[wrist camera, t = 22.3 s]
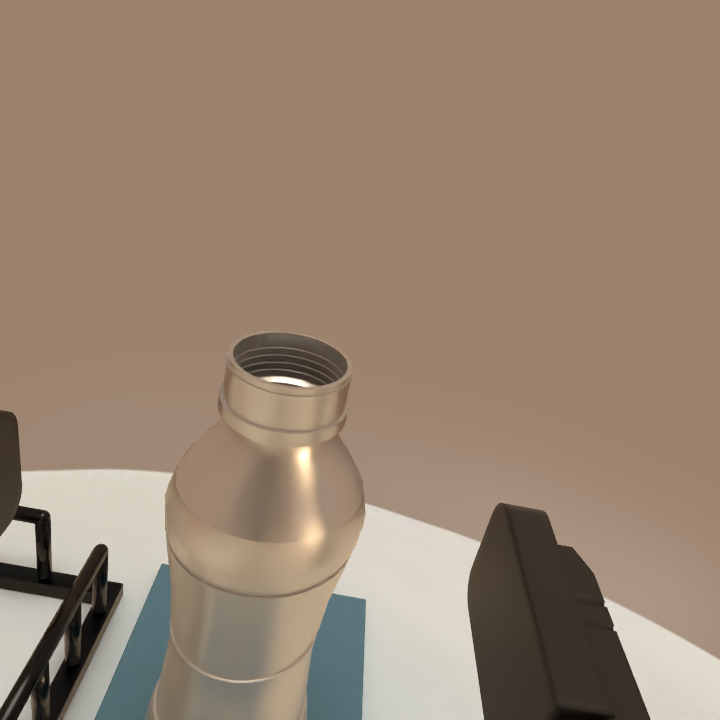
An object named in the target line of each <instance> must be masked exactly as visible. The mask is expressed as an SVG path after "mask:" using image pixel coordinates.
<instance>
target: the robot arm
mask: <svg viewBox="0 0 720 720" xmlns="http://www.w3.org/2000/svg"><path fill="white" fill-rule="evenodd" d="M21 493H22V479H21V465H20V451H19V437H18V424H17V419H16V417H15V415H14V414H13V413H12V412H8V411H2V410H0V536H1V535H2V533H3V532H4V531H5V530H6V528H7V527H8V526H9V524H10V523H11V521H12V519H13V518H14V516H15V514H16V511H17V509H18V506H19V502H20V498H21ZM604 602H605V601H604V599H603V596H602V594H601V591H600V589H599V586H598V583H597V581H596V578H595V576H594V573H593V572H592V571H591V570H590V568H589V567H588V566H587V565H586V563H585V562H584V561H583V560H582V559H581V557H580V556H579V555H578V554H577V553H576V551H575V550H574V549H573V548H572V547H568V546H562V545H558V544H557V541H556V538H555V535H554V533H553V529H552V526H551V524H550V521H549V518H548V516H547V514H546V512H544V511H542V510H537V509H532V508H526V507H521V506H515V505H510V504H503V503H499V504H498V505H497V506H496V508H495V510H494V511H493V514H492V516H491V519H490V521H489V524H488V527H487V529H486V532H485V535H484V537H483V540H482V542H481V545H480V547H479V550H478V553H477V555H476V558H475V560H474V563H473V566H472V569H471V572H470V577H469V583H468V610H469V617H470V624H471V630H472V637H473V644H474V651H475V658H476V665H477V672H478V679H479V686H480V693H481V700H482V707H483V714H484V720H650V717H649V714H648V712H647V709H646V707H645V704H644V702H643V699H642V696H641V694H640V691H639V689H638V686H637V684H636V681H635V678H634V676H633V673H632V671H631V668H630V666H629V663H628V660H627V658H626V655H625V653H624V650H623V648H622V645H621V642H620V640H619V637H618V635H617V632H616V631H614V630H613V626H614V624H613V622H612V619H611V617H610V614H609V612H608V609H607V607H604Z"/></svg>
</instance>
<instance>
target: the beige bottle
mask: <svg viewBox="0 0 720 720" xmlns="http://www.w3.org/2000/svg"><path fill="white" fill-rule="evenodd" d="M351 377H352V364H351V362H350V360H349V358H348V357H347V356H346V355H345V353H344V352H342V351H341V350H340V349H338V348H337V347H336V346H334V345H332V344H330V343H328V342H326V341H323V340H321V339H318V338H316V337H312V336H309V335H305V334H300V333H294V332H286V331H264V332H257V333H252V334H248V335H245V336H243V337H240V338H238V339H237V340H236V341H235V342H233V343H232V345H231V346H230V347H229V351H228V353H227V357H226V364H225V375H224V383H223V384H222V385H221V387H220V391H219V399H218V409H219V413H220V415H221V417H222V418H221V419H220V420H219V421H218V422H216V423H215V424H214V425H213V426H212V427H210V428H209V429H208V430H207V431H206V432H205V433H204V434H203V435H202V436H201V437H200V438H199V439H198V440H197V441H196V442H195V443H194V444H193V445H192V446H191V447H190V448H189V450H187V451H186V453H185V454H184V456H183V458H182V459H181V461H180V462H179V464H178V466H177V468H176V470H175V472H174V474H173V476H172V478H171V480H170V482H169V485H168V488H167V491H166V494H165V531H166V540H167V550H168V560H169V570H170V580H171V617H170V637H169V641H168V646H167V650H166V654H165V658H164V663H163V667H162V671H161V675H160V678H159V680H158V682H157V684H156V686H155V688H154V691H153V693H152V695H151V699H150V702H149V705H148V708H147V712H146V715H145V719H144V720H307V682H308V674H309V667H310V660H311V653H312V648H313V645H314V642H315V640H316V636H317V632H318V630H319V628H320V625H321V622H322V619H323V616H324V613H325V610H326V607H327V604H328V601H329V599H330V597H331V595H332V593H333V591H334V589H335V587H336V584H337V582H338V580H339V578H340V576H341V574H342V572H343V570H344V568H345V566H346V564H347V562H348V560H349V557H350V555H351V553H352V551H353V549H354V547H355V545H356V543H357V540H358V537H359V534H360V532H361V529H362V527H363V522H364V517H365V504H364V492H363V483H362V478H361V476H360V473H359V471H358V468H357V466H356V464H355V462H354V460H353V458H352V456H351V454H350V452H349V450H348V448H347V447H346V445H345V444H344V442H343V441H342V439H341V438H340V436H339V435H338V433H339V432H340V431H341V430H342V428H343V427H344V424H345V421H346V417H347V412H348V401H347V396H348V391H349V387H350V382H351Z"/></svg>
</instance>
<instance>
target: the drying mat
mask: <svg viewBox="0 0 720 720" xmlns="http://www.w3.org/2000/svg"><path fill="white" fill-rule="evenodd" d="M365 607H366V600H365V599H359V598H354V597H348V596H342V595H337V594H332V595H331V597H330V599H329V601H328V604H327V607H326V610H325V613H324V616H323V619H322V622H321V625H320V628H319V630H318V632H317V636H316V640H315V642H314V645H313V648H312V653H311V660H310V667H309V674H308V682H307V720H362V695H363V665H364V636H365ZM170 617H171V580H170V570H169V565H166V564H162V565H161V567H160V569H159V572H158V574H157V576H156V579H155V581H154V583H153V586H152V588H151V590H150V592H149V595H148V597H147V599H146V602H145V604H144V606H143V609H142V611H141V613H140V616H139V618H138V620H137V623H136V625H135V627H134V630H133V632H132V634H131V637H130V639H129V641H128V643H127V646H126V648H125V650H124V653H123V655H122V657H121V660H120V662H119V664H118V667H117V669H116V671H115V674H114V676H113V678H112V681H111V683H110V685H109V688H108V690H107V692H106V694H105V697H104V699H103V701H102V704H101V706H100V708H99V711H98V713H97V715H96V718H95V720H144V719H145V715H146V712H147V708H148V705H149V702H150V699H151V695H152V693H153V691H154V688H155V686H156V684H157V682H158V680H159V678H160V675H161V671H162V667H163V663H164V658H165V654H166V650H167V646H168V641H169V637H170Z"/></svg>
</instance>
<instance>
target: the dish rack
mask: <svg viewBox="0 0 720 720" xmlns="http://www.w3.org/2000/svg"><path fill="white" fill-rule="evenodd" d="M12 520H17V521H23V522H29V523H34V524H35V534H36V557H37V569H36V568H30V567H24V566H18V565H12V564H7V563H1V562H0V588H4V589H10V590H16V591H22V592H28V593H34V594H40V595H45V596H51V597H57V598H63V599H64V600H63V602H62V604H61V606H60V607H59V609H58V611H57V612H56V614H55V616H54V618H53V619H52V621H51V623H50V624H49V626H48V628H47V630H46V631H45V633H44V635H43V637H42V638H41V640H40V642H39V643H38V645H37V647H36V649H35V650H34V652H33V654H32V655H31V657H30V659H29V661H28V662H27V664H26V666H25V668H24V669H23V671H22V673H21V674H20V676H19V678H18V680H17V681H16V683H15V685H14V686H13V688H12V690H11V692H10V693H9V695H8V697H7V699H6V700H5V702H4V704H3V705H2V707H1V709H0V720H17V718H18V717H19V715H20V713H21V711H22V709H23V707H24V706H25V704H26V702H27V700H28V698H29V697H30V695H31V709H32V720H62V719H63V717H64V715H65V713H66V711H67V709H68V707H69V705H70V703H71V700H72V698H73V696H74V694H75V692H76V690H77V688H78V686H79V684H80V682H81V680H82V678H83V675H84V673H85V671H86V669H87V667H88V665H89V663H90V661H91V659H92V657H93V655H94V652H95V650H96V648H97V646H98V644H99V642H100V640H101V638H102V636H103V634H104V632H105V630H106V627H107V625H108V623H109V621H110V619H111V617H112V615H113V613H114V611H115V609H116V607H117V605H118V602H119V600H120V598H121V596H122V594H123V584H122V583H116V582H110V581H107V578H108V548H107V546H106V545H104V544H98V545H96V546H95V547H94V549H93V550H92V552H91V554H90V556H89V557H88V559H87V561H86V563H85V564H84V566H83V568H82V569H81V571H80V573H79V575H78V576H76V575H70V574H64V573H59V572H53V571H52V553H51V518H50V513H49V512H48V511H45V510H40V509H34V508H28V507H23V506H18V509H17V511H16V514H15V516H14V518H13V519H12ZM81 602H86V603H92V607H91V609H90V611H89V613H88V615H87V616H86V618H85V620H84V622H83V624H82V626H81ZM63 634H64V638H65V658H64V660H63V662H62V664H61V666H60V668H59V670H58V672H57V674H56V676H55V678H54V679H53V681H52V683H51V685H50V682H49V660H50V658H51V656H52V654H53V653H54V651H55V649H56V647H57V645H58V644H59V642H60V640H61V638H62V636H63Z"/></svg>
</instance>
